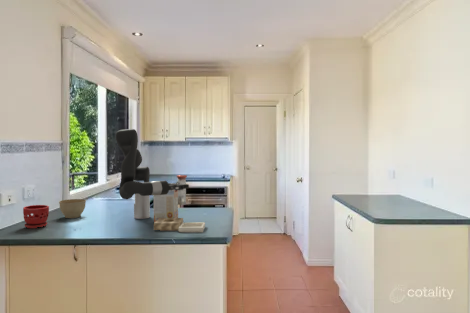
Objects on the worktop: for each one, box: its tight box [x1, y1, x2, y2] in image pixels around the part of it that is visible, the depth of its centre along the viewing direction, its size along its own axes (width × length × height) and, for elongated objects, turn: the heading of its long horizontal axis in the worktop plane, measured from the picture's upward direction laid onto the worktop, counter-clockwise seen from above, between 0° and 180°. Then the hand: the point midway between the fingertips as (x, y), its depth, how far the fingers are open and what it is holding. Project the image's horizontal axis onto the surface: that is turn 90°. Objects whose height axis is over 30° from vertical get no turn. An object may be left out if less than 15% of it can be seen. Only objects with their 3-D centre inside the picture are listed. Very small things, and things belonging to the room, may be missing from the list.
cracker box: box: [153, 190, 179, 223], centre depth 217 cm, size 14×6×21 cm, turn 74°
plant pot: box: [22, 204, 50, 229], centre depth 205 cm, size 13×13×12 cm
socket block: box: [153, 217, 184, 231], centre depth 201 cm, size 14×14×4 cm
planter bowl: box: [58, 198, 87, 219], centre depth 233 cm, size 16×16×11 cm
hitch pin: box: [176, 174, 188, 206], centre depth 197 cm, size 6×6×16 cm
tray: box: [178, 221, 206, 233], centre depth 196 cm, size 13×13×2 cm
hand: (186, 185), depth 198 cm, fingers closed on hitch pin, 4 cm apart
